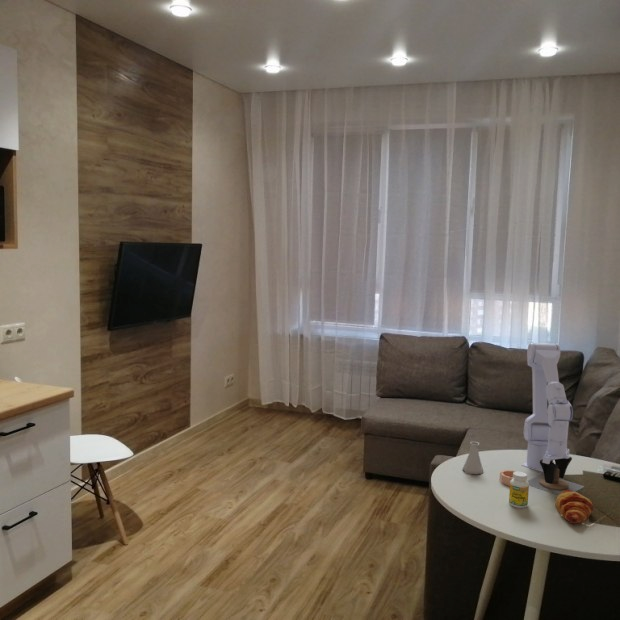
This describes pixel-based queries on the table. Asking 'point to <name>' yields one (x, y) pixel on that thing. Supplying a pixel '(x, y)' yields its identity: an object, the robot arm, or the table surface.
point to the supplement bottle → (519, 490)
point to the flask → (473, 460)
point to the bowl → (506, 476)
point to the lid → (555, 483)
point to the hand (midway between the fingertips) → (554, 480)
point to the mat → (536, 484)
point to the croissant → (573, 506)
